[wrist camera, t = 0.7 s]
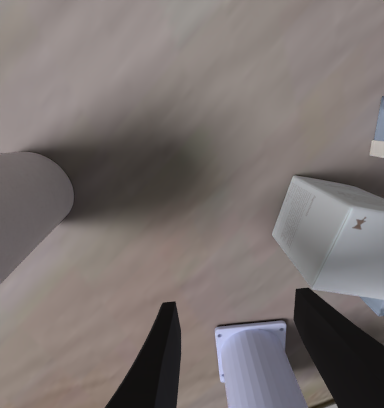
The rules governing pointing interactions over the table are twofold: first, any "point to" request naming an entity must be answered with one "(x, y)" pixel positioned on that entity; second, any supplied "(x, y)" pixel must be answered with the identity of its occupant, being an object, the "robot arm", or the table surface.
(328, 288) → the product box
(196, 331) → the table surface
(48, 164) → the coffee cup
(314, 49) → the table surface
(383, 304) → the walled box
